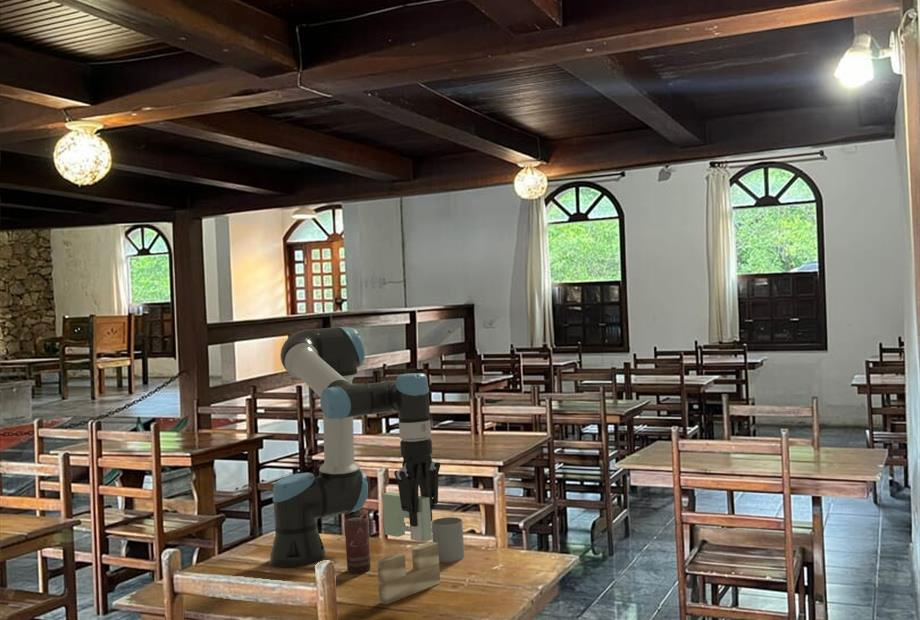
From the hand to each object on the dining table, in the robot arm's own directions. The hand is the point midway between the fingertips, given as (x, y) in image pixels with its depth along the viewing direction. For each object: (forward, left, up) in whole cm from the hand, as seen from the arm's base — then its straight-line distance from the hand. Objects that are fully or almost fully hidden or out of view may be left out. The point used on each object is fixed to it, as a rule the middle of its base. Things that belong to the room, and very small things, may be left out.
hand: (422, 537), depth 201 cm
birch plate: (-5, 0, -14) cm, 15 cm away
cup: (-17, +26, -14) cm, 34 cm away
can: (-30, +5, -14) cm, 34 cm away
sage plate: (-5, 0, -1) cm, 5 cm away
